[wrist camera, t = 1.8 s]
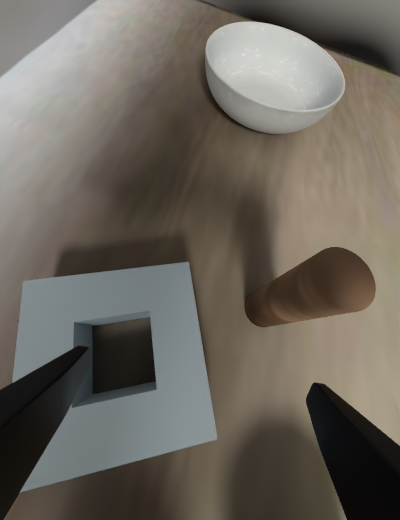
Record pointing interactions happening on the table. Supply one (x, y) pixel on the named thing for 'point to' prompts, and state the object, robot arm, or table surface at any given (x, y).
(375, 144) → the table surface
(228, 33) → the serving bowl
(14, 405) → the robot arm
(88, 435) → the socket block
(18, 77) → the table surface
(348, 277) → the walnut peg
